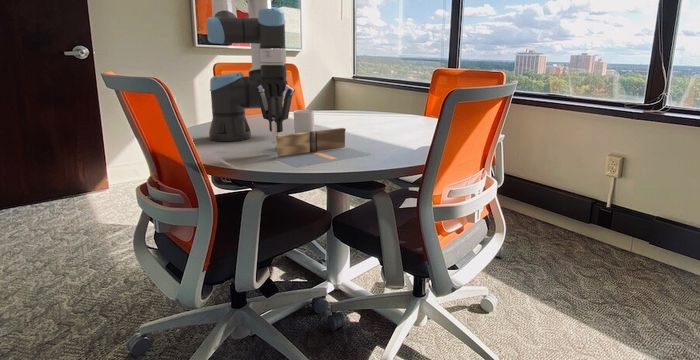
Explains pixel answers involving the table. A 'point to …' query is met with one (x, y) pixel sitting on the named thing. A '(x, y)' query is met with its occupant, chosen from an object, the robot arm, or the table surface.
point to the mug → (303, 121)
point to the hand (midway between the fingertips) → (276, 142)
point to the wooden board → (293, 143)
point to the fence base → (327, 139)
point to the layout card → (318, 156)
